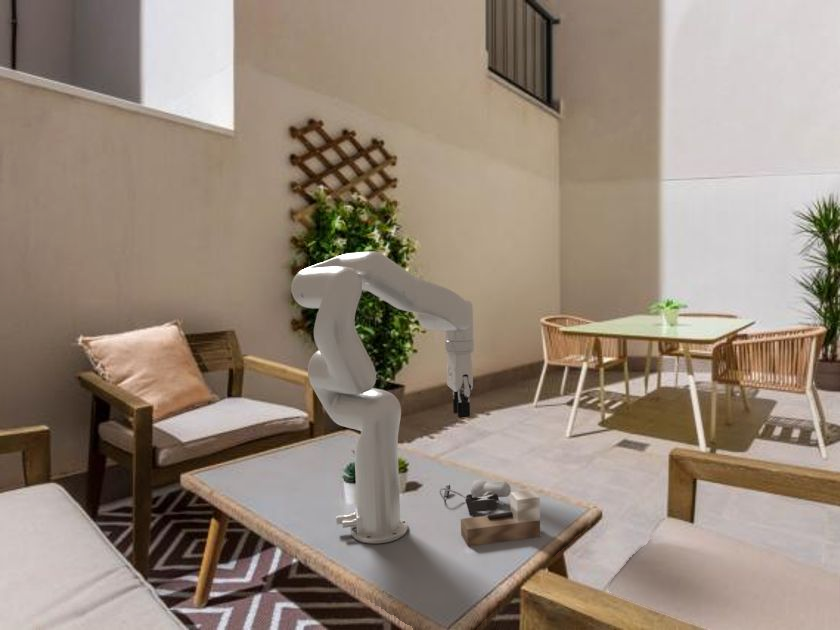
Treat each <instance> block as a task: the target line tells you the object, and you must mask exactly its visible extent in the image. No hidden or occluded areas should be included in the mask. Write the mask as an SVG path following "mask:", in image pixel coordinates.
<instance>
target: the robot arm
mask: <svg viewBox="0 0 840 630" xmlns="http://www.w3.org/2000/svg"><path fill="white" fill-rule="evenodd" d="M290 290H291V291H290V292H291V295H292V298H293V300H294V301H295V302H296V303H297V304H298V305H300V306H301V307H303V308H305V309H318V311H317V313H316V318H315V322H314V327H313V339H314V342H315V346H316V347H317V350H316V352H315V353H313V354H312V356H311V358H310V359H309V361H308V365H307V366H308V367H307V376H308V380H309V383H310V386H311V388H312V389H313V391H314V393H315V394H316V396H317V398H318V400H319V402H320V403H321V404H322V406H323V409H325V411H326V413H327V415H328V416H329V418H330V419H331V420H332V421H333V422H334V423H335V424H336V425H338V426H341V427H345V428H348V429H353V430H356V431H360V436H359V438H358V441H357V443H356V446H355V448H354V470H355V471H354V472H355V476H354V477H355V492H356V493H355V497H356V498H355V499H356V506H355V507H354V511H353V512H350V514H349V513H348V514H338V515H336V518H335V519H336V525H337V526H338V525H342V529H346V528H350V534H351V536H352V537H353V538H354V539H355V540H357V541H359V542H361V543H366V544H373V545H374V544H386V543H389V542H393V541H395V540H398V539H400V538H401V537H404V535H405V534H406V533H407V531H408V530H409V529H408V528H409V526H408V522H407V520H406V518H404V517H403V516H401V506H400V505H401V501H400V481H399V480H400V477H399V476H400V475H399V447H398V446H399V445H398V444H399V443H398V441H399V439H398V438H399V431H400V422H401V415H402V407H401V403H400V401H399V399H398V398H397V397H396V396H395V395H394V394H393V393H392V392H390V391H387V390H385V389H380V388H374V386H375V384H376V381H377V373H376V368H375V366H374V364H373V361H372V360H371V358H370V356H369V354H368V352H367V350H366V347H365V346H364V344H363V342H362V340H361V338H360V336H359V333H358V331H357V329H356V324H355V319H356V318H355V317H356V312H357V309H358V305H359V302H360V300H361V296H362V293H363V291H366V292H368V293H371V294H372V295H374V296H376V297H377V298H379V299H380V300H383V301H384V302H385V303H388V304H390V305H391V306H392V307H393V308H396V309H397V310H401V311H405V312H409V313H415V314H417V316H416V317H417V321H418V323H419V324H420V326H421V327H423V328H424V329H427V330H429V331H444V339H445V341H444V342H445V344H444V345H445V348H444V350H445V353H446V354H447V357H446V359H447V360H446V386H448V387H449V388H450V389H451V390H452V412H453V414H457V418H458V419H459V418H469V417H471V409H470V408H471V407H470V405H471V404H470V402H471V400H470V397H471V396H470V395H471V391H472V390H473V387H474V385H473V384H474V382H473V381H474V379H473V377H474V375H473V374H474V373H473V363H472V361H473V360H472V353H474V352H475V349H474V348H475V347H474V344H475V343H474V342H475V341H474V313H473V312H474V310H473V309H474V308H473V303H472V302H471V301H470V300H468V299H464V297H462V296H461V295H460V294H458V293H456V292H454V291H452V290H451V289H449V288H446V287H444V286H441V285H438V284H435V283H433V282H430V281H427V280H424V279H423V278H419V277H417V276H414V275H413V274H411V273H410V272H409V271H407V270H406V269H404V268H403V267H402V266H400V265H399V264H398V263H396V262H395V261H393V260H392V259H390V258H389V257H388V256H386V255H384V254H383V253H381V252H378V251H373V250H371V251H368V250H367V251H359V252H349V253H345V254H341V255H338V256H336V257H332V258H330V259H327V260H324V261H323V262H319V263H316V264H314V265H311V266H308V267H306V268H304V269H301V270H300V271H298V272H297V273H296V275H295V276H294V277H293V279H292V282H291V288H290Z"/></svg>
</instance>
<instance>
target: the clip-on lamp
mask: <svg viewBox="0 0 840 630" xmlns="http://www.w3.org/2000/svg"><path fill="white" fill-rule="evenodd" d="M442 491H444V493H443V494H442ZM510 492H512V488H511V485H510V484H509V483H508V482H506V481H504V482H487V481H486V480H484V479H476V480H474V481H473V483H472V485H471V487H470V493H468V494H467V495H463V494H461V493H460V492H457V491H455V490H452V489H451V484H450V483H448V484H447V485H446V486H445V487H443V488H440V489H439V495H440V497H441V498H442V499H443V500H445V501H446V500H447V499H448V498H449V495H450V493H453V494H454V495H455V494H456V495H458V496H459V497H462V498H464V499H465V503H466V506H467V511H468V515H469V516H472V517H475V515H476V513H478V512H479V513H481V512H491V511H492V512H493V511H497V510H498V509H499V506H498V505H499V504H500V505H501V506H504V504H505V503H504V502H502V501H501V500H500V499H499V498H507V497H509V496H510Z"/></svg>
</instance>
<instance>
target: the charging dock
mask: <svg viewBox="0 0 840 630" xmlns="http://www.w3.org/2000/svg"><path fill="white" fill-rule="evenodd" d="M509 496H510V497H509V498H510V499H509V502H510V511H507V512H505V511H504V512H498V513H497V512H496V513H490V514H485V515H481V516H472V517H466V518H460V535H461V537H462V539H463V541H464V542H465V544H466V545H467V547H470V546H478V545H486V544H493V543H502V542H508V541H514V540H515V541H516V540H523V539H529V538H532V539H533V538H539V537H541V507H540V506H541V504H540V502H541V501H540V496H539V495H538V494H537V493H536V492H535V491H534V490H532V489H530V490H521V491H511V492H510V494H509Z"/></svg>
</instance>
